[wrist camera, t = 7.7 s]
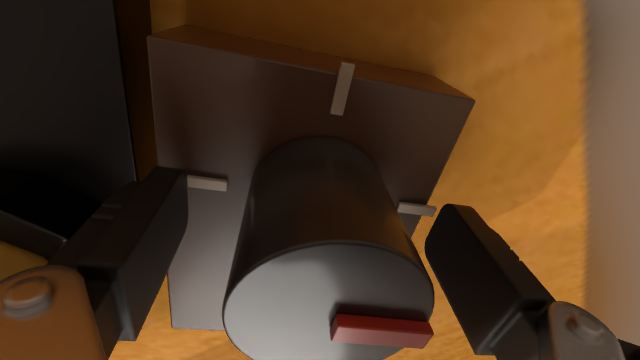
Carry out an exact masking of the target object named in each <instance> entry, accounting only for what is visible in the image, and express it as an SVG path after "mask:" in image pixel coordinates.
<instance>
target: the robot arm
mask: <svg viewBox="0 0 640 360" xmlns="http://www.w3.org/2000/svg"><path fill="white" fill-rule="evenodd" d="M187 223H188V182H187V172H186V170H184V169H177V168H169V167H161V166H155V167H154V168H153V169H152V170H151V172H150V173H149V174H148V175H147V177H146V178H145V179H144V180H143V181H142V182H135V181H131V182H130V183H128V184H126V185H124V186H122V187H120V188H118V189H116V190H115V191H113V192H112V193H111V194H110V196H109V197H108V198H107V199H106V200H105V201H104V202H103V203H102V206H101V207H98V209H97V210H96V211H95V212H94V213H93V214H92V215H91V218H88V219H87V221H86V222H85V223H84V224H83V225H82V226H81V227H80V228H79V229H78V230H77V231H76V232H75V234H74V235H73V236H72V237H71V238H70V239H69V240H68V241H67V242H66V243H65V244H64V246H63V247H62V248H61V249H60V250H59V251H58V252H57V253H56V254H55V255H54V256H53V258H52V259H51V260H50V261H49V262H48V263H47V264H46V265H44V266H38V267H34V268H30V269H26V270H23V271H20V272H17V273H15V274H13V275H10V276H8V277H6V278H4V279H3V280H1V281H0V360H108V359H109V357H110V355H111V353H112V351H113V349H114V347H115V345H116V343H117V341H136V339H137V337H138V335H139V333H140V330H141V328H142V326H143V324H144V322H145V319H146V317H147V315H148V313H149V311H150V309H151V306H152V304H153V302H154V300H155V298H156V295H157V293H158V291H159V289H160V287H161V284H162V282H163V280H164V278H165V276H166V273H167V271H168V269H169V267H170V265H171V263H172V260H173V258H174V256H175V254H176V252H177V249H178V247H179V245H180V243H181V241H182V238H183V236H184V234H185V231H186V228H187ZM425 255H426V258H427V260H428V262H429V264H430V266H431V268H432V270H433V272H434V274H435V276H436V278H437V280H438V282H439V284H440V286H441V288H442V290H443V291H444V293H445V295H446V297H447V299H448V301H449V303H450V305H451V307H452V309H453V311H454V313H455V315H456V317H457V319H458V321H459V323H460V325H461V327H462V329H463V331H464V333H465V335H466V337H467V339H468V341H469V343H470V345H471V347H472V349H473V351H474V353H475V355H495V356H496V358H497V360H640V346H637V345H634V344H631V343H628V342H625V341H623V340H620V339H617V338H616V337H615V335H614V334H613V333H612V332H611V331H610V330H609V329H608V328H607V327H606V326H605V325H604V324H603V323H602V322H601V321H600V320H599V319H597V318H596V317H594V316H593V315H592V314H590V313H589V312H587V311H586V310H584V309H582V308H580V307H578V306H576V305H574V304H571V303H568V302H563V301H556V300H555V299H554V298H553V297H552V296H551V294H550V293H549V292H548V291H547V290H546V289H545V287H544V286H543V285H542V284H541V283H540V282H539V280H538V279H537V278H536V277H535V276H534V275H533V273H532V272H531V271H530V270H529V269H528V268H527V266H526V265H525V264H524V263H523V262H522V261H519V257H518V256H517V255H516V254H515V253H514V251H513V250H510V247H509V246H508V244H507V243H506V242H505V241H504V240H503V239H502V237H501V236H500V235H499V234H498V233H496V232H495V231H494V230H492V229H491V228H490V227H489V226H488V225H487V224H486V223H485V222H484V220H483V219H482V218H481V217H480V216H479V214H478V213H477V212H476V211H475V210H474V209H473V208H472V207H470V206H463V205H455V204H446V205H444V206H443V207H442V208H441V210H440V212H439V214H438V216H437V218H436V220H435V222H434V224H433V226H432V228H431V230H430V232H429V234H428V236H427V238H426V241H425Z"/></svg>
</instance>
